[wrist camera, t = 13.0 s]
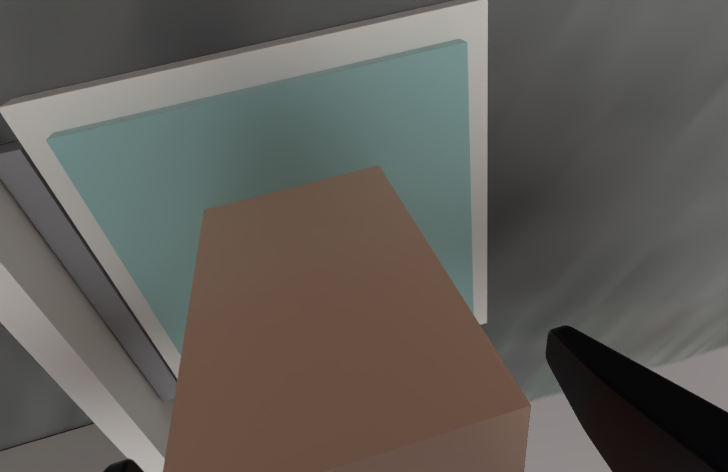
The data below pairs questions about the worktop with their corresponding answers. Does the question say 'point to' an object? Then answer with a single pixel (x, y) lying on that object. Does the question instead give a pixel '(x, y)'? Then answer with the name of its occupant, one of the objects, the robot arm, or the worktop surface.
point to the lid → (253, 156)
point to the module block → (335, 345)
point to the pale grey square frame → (74, 361)
